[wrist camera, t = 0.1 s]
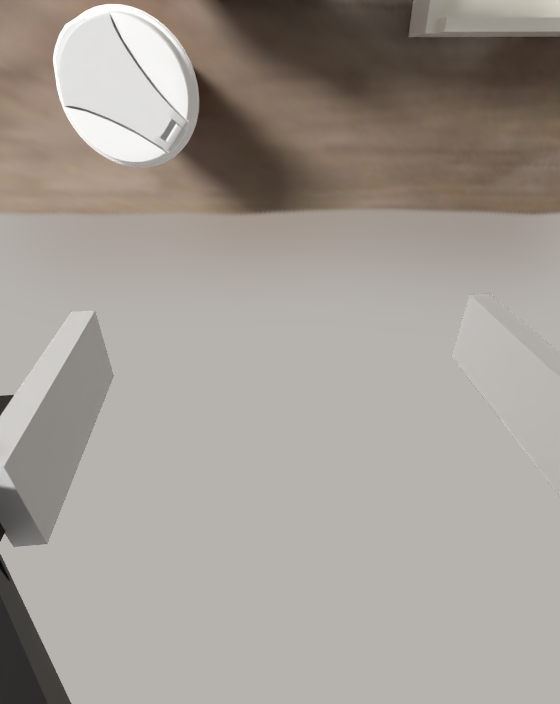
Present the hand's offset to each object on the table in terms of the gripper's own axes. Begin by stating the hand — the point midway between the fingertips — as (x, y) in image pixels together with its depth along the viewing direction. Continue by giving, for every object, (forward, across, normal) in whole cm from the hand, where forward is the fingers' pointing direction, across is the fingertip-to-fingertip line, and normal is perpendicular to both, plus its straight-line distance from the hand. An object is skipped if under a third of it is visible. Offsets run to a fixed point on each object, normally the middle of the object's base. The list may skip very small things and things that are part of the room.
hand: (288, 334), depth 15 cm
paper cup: (+28, -7, +7) cm, 30 cm away
